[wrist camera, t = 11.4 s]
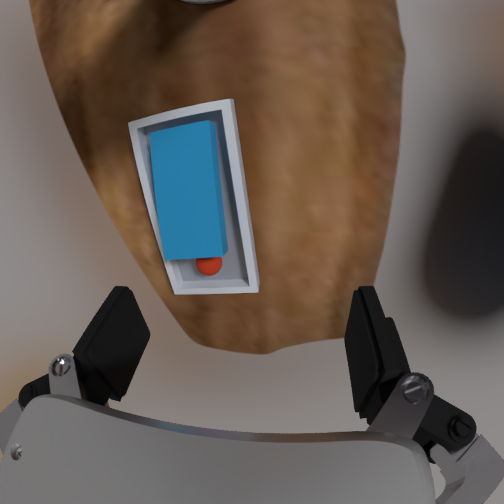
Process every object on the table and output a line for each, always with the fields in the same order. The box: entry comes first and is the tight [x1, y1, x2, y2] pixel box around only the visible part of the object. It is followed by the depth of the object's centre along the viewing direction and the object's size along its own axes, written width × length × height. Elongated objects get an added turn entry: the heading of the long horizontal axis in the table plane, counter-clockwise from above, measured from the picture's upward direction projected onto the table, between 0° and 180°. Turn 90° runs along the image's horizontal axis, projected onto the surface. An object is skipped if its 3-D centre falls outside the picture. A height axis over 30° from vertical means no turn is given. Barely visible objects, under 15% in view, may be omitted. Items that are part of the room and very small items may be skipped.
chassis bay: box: [128, 99, 260, 294], centre depth 32 cm, size 24×12×2 cm, turn 7°
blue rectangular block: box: [150, 120, 228, 276], centre depth 31 cm, size 7×7×18 cm
